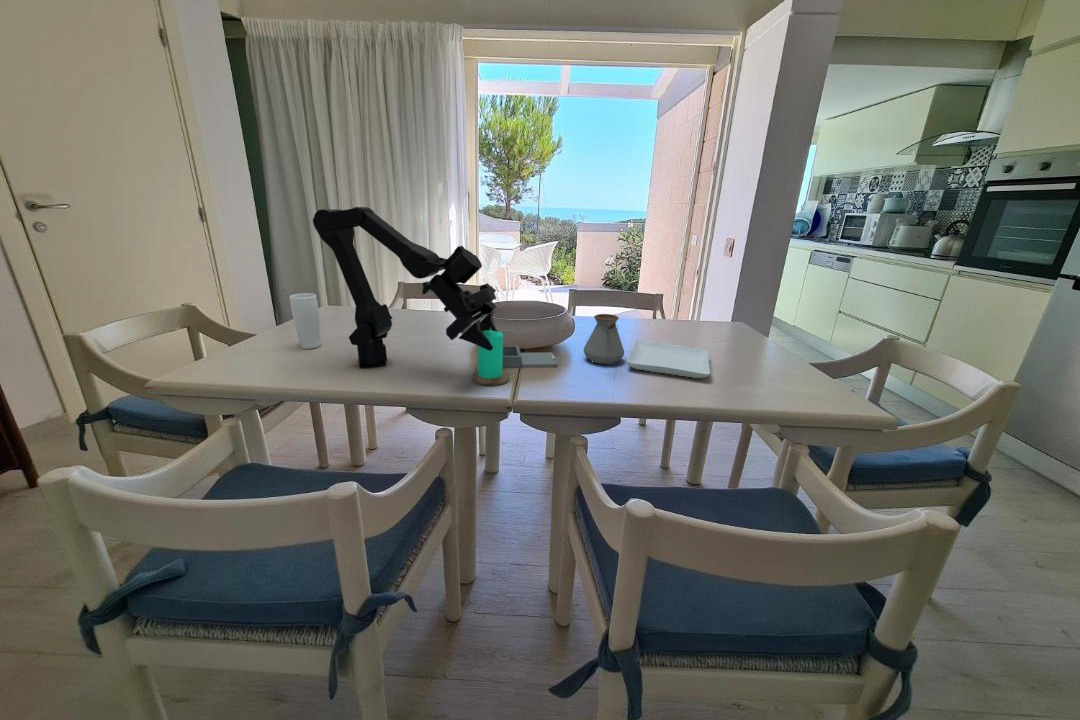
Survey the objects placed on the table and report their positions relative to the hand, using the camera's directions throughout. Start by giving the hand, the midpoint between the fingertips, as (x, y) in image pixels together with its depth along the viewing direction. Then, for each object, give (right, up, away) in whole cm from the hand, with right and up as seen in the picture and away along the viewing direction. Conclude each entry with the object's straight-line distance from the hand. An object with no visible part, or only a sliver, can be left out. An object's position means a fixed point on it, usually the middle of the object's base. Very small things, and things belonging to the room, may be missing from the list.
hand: (496, 345), depth 103 cm
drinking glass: (-56, 0, +21) cm, 60 cm away
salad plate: (+47, -5, +18) cm, 50 cm away
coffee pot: (+28, -5, +15) cm, 32 cm away
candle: (-2, -7, +3) cm, 8 cm away
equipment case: (+5, -4, +16) cm, 17 cm away
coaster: (-2, -8, +3) cm, 9 cm away
